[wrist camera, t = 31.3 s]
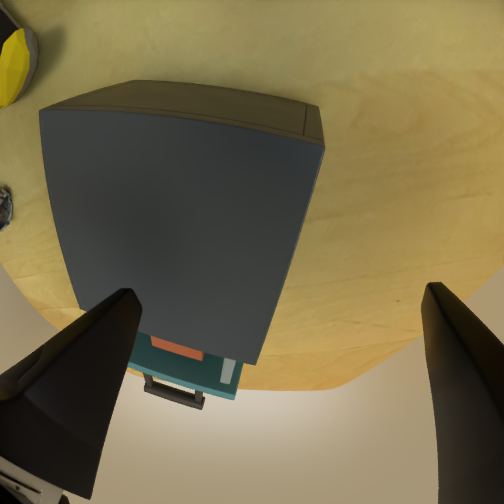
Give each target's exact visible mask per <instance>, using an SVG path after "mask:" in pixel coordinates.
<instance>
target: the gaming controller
mask: <svg viewBox="0 0 504 504" xmlns="http://www.w3.org/2000/svg"><path fill="white" fill-rule="evenodd" d="M38 55H39V54H38V41H37V39H36V36H35V35H34V33H33V31H32V29H31V28H30V27H23V28H21V26H20V25H19V24H18V23H17V22H16V21H15V20H14V18H13V17H12V16H11V15H10V14H9V13H8V12H7V10H6V9H5V8H4V6H3V5H2V4H1V2H0V109H1V108H3V107H6V106H9V105H10V104H12V103H14V102H16V101H17V100H18V99H19V98H20V97H21V95H22V94H23V93H24V91H25V90H26V89H27V87H28V85H29V83H30V80H31V78H32V76H33V74H34V71H35V69H36V66H37V60H38Z"/></svg>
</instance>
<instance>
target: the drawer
mask: <svg viewBox="0 0 504 504" xmlns="http://www.w3.org/2000/svg"><path fill="white" fill-rule="evenodd" d="M127 367H129V368H132V369H135V370H137V371H140V372H143V375H144V378H145V381H146V383H145V386H144V391H145V392H148V393H150V394H153V395H156V396H159V397H162V398H164V399H167V400H170V401H173V402H177V403H180V404H183V405H186V406H189V407H193V408H196V409H199V410H202V408H203V405H204V401H205V397H203V392H204V393H208V394H211V395H215V396H218V397H222V398H226V399H230V400H234V399H235V395H236V391H237V387H238V383H239V379H240V375H241V371H242V367H243V363H242V362H238V361H234V360H231V359H227V358H223V357H219V356H216V355H212V354H208V353H205V354H204V357H203V360H202V361H200V360H197V359H193V358H190V357H187V356H183V355H180V354H177V353H174V352H171V351H167V350H164V349H161V348H158V347H155V346H153V345H152V342H151V336H150V335H147V334H144V333H142V332H139V331H138V332H137V336H136V340H135V344H134V348H133V351H132V354H131V357H130V360H129V363H128V366H127ZM152 376H154V377H157V378H159V379H162V380H165V381H168V382H171V383H174V384H178V385H181V386H184V387H187V388H190V389H194V390H195V394H193V393H189V392H186V391H183V390H180V389H177V388H173V387H170V386H167V385H164V384H162V383H159V382H156V381H153V378H152Z"/></svg>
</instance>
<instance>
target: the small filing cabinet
mask: <svg viewBox="0 0 504 504" xmlns="http://www.w3.org/2000/svg"><path fill="white" fill-rule="evenodd" d="M39 122H40V135H41V145H42V154H43V161H44V169H45V175H46V182H47V187H48V193H49V198H50V204H51V208H52V213H53V218H54V222H55V227H56V231H57V235H58V239H59V243H60V247H61V250H62V254H63V257H64V261H65V264H66V268H67V271H68V274H69V278H70V281H71V284H72V287H73V290H74V293H75V296H76V299H77V301H78V304H79V307H80V309H82V310H84V311H86V312H88V311H89V310H90V309H92V308H93V307H94V306H96V305H97V304H99V303H100V302H101V301H103V300H104V299H106V298H107V297H109V296H110V295H111V294H113V293H114V292H116V291H117V290H119V289H120V288H132V289H133V290H134V292H135V293H136V295H137V297H138V299H139V301H140V303H141V304H142V308H143V312H142V316H141V320H140V324H139V328H138V331H139V332H142V333H144V334H147V335H150V336H153V337H156V338H159V339H162V340H165V341H168V342H172V343H175V344H178V345H181V346H184V347H188V348H191V349H194V350H198V351H201V352H205V353H208V354H212V355H216V356H219V357H223V358H227V359H231V360H234V361H238V362H242V363H246V364H251V365H256V363H257V360H258V357H259V355H260V352H261V349H262V346H263V343H264V341H265V338H266V335H267V332H268V329H269V326H270V323H271V321H272V318H273V315H274V312H275V309H276V306H277V303H278V300H279V297H280V294H281V291H282V288H283V285H284V282H285V279H286V276H287V273H288V270H289V267H290V264H291V261H292V258H293V255H294V251H295V248H296V245H297V242H298V239H299V236H300V232H301V229H302V226H303V223H304V219H305V216H306V213H307V210H308V206H309V203H310V200H311V196H312V193H313V190H314V186H315V183H316V179H317V176H318V173H319V169H320V166H321V162H322V159H323V155H324V151H325V143H324V136H323V130H322V123H321V117H320V110H319V107H318V106H314V105H310V104H306V103H302V102H298V101H294V100H290V99H285V98H280V97H276V96H271V95H266V94H261V93H255V92H250V91H244V90H238V89H231V88H224V87H217V86H209V85H201V84H191V83H180V82H167V81H150V80H132V81H128V82H124V83H120V84H116V85H112V86H108V87H105V88H101V89H98V90H95V91H91V92H88V93H85V94H82V95H79V96H76V97H73V98H70V99H67V100H64V101H61V102H59V103H56V104H53V105H51V106H48V107H46V108H43V109H41V110H39Z"/></svg>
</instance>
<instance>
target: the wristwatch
mask: <svg viewBox="0 0 504 504" xmlns="http://www.w3.org/2000/svg"><path fill="white" fill-rule="evenodd" d="M9 196H10V194H9V193H7V192H6V191H5V190H4V189H3V188H2V187H0V231H3V230H4V229H5V228H6V227H7V225H9V223H10V220H11V217H12V202H11V201H10V197H9Z"/></svg>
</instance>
